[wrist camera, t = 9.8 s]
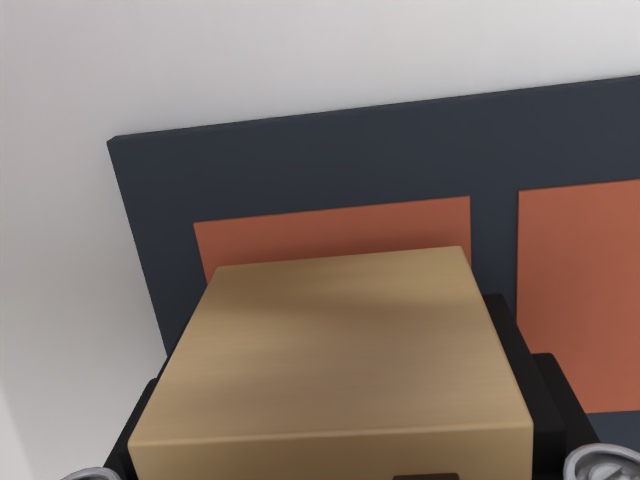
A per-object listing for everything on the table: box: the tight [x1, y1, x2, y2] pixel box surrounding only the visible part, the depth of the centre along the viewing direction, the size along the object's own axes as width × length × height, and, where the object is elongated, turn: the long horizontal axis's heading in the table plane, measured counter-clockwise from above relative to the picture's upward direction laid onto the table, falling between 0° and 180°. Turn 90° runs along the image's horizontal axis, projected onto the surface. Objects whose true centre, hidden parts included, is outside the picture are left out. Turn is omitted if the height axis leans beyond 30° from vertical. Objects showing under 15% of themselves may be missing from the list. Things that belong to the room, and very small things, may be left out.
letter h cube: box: [128, 246, 534, 480], centre depth 10 cm, size 5×5×5 cm
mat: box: [107, 75, 640, 453], centre depth 13 cm, size 16×10×1 cm, turn 97°
